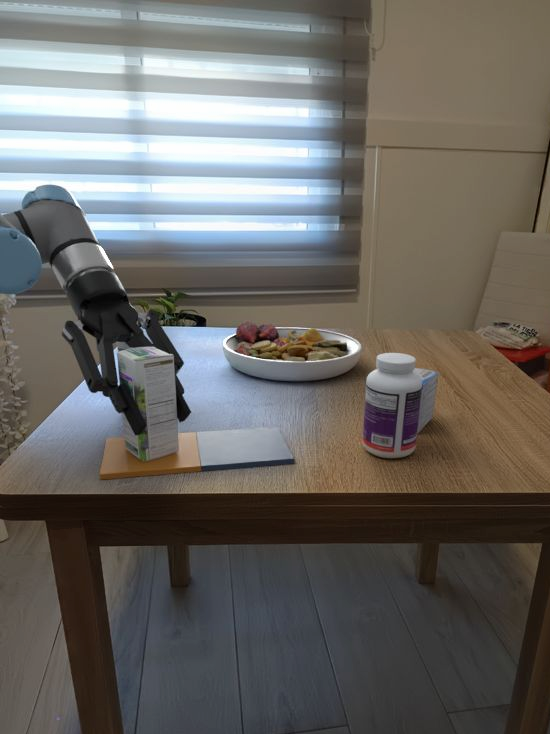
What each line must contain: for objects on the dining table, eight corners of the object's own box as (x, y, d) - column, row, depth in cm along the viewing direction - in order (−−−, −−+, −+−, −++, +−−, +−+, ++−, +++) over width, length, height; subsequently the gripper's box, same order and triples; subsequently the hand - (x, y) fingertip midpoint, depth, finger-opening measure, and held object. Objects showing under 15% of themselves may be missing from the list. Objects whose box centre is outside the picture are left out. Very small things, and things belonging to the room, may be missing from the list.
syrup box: (123, 449, 82) (113, 350, 76) (161, 439, 85) (153, 344, 80) (143, 463, 78) (133, 360, 72) (181, 451, 82) (175, 352, 76)
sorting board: (100, 479, 75) (99, 474, 75) (107, 442, 86) (106, 437, 85) (294, 463, 81) (294, 458, 81) (278, 430, 92) (278, 426, 92)
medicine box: (408, 414, 101) (413, 366, 98) (433, 419, 99) (439, 371, 96) (392, 428, 95) (397, 378, 91) (418, 434, 93) (424, 383, 89)
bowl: (380, 359, 133) (383, 326, 130) (321, 396, 108) (322, 355, 105) (270, 341, 145) (270, 310, 142) (194, 370, 120) (192, 333, 117)
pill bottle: (404, 437, 91) (413, 349, 86) (423, 459, 84) (434, 364, 79) (355, 440, 90) (361, 350, 84) (370, 462, 82) (377, 366, 77)
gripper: (143, 294, 90) (210, 418, 87) (16, 308, 77) (88, 456, 73) (159, 263, 85) (231, 394, 81) (25, 273, 72) (104, 430, 68)
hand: (163, 423), depth 77 cm, fingers closed on syrup box, 6 cm apart
